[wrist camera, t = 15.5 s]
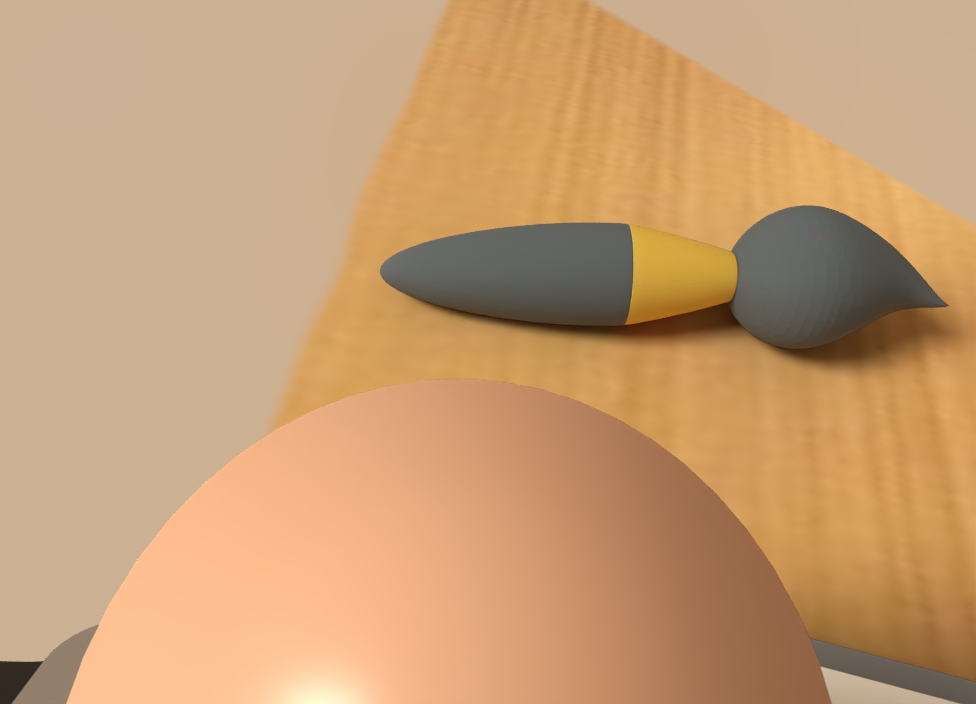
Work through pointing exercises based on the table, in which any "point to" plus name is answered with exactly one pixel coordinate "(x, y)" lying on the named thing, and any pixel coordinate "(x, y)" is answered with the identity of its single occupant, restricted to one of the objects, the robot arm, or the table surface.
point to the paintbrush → (672, 275)
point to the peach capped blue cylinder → (452, 569)
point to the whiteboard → (886, 679)
